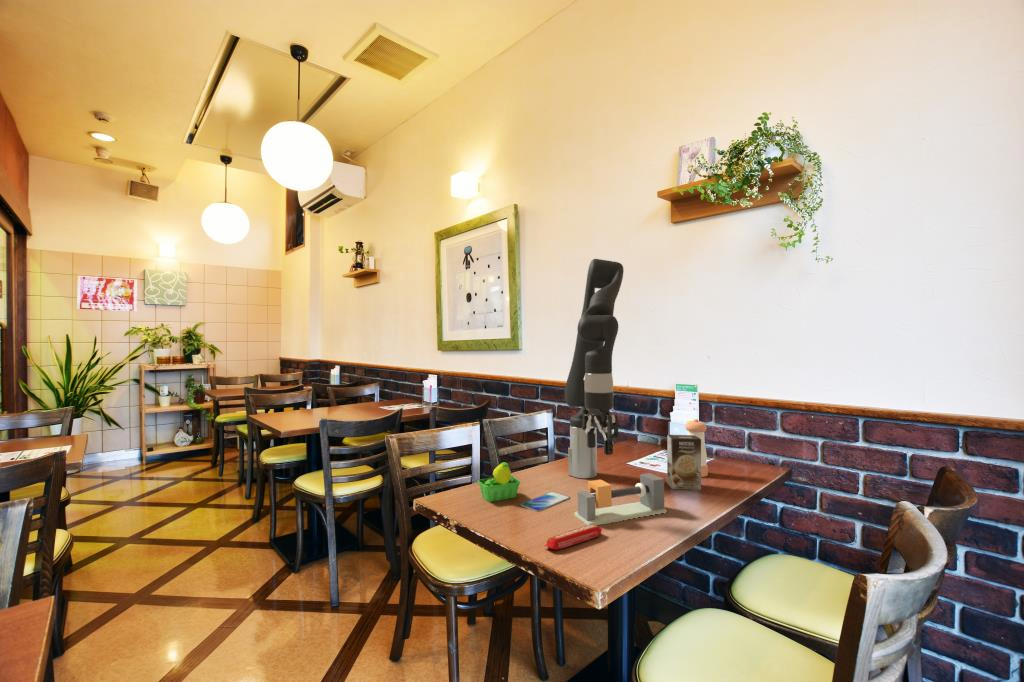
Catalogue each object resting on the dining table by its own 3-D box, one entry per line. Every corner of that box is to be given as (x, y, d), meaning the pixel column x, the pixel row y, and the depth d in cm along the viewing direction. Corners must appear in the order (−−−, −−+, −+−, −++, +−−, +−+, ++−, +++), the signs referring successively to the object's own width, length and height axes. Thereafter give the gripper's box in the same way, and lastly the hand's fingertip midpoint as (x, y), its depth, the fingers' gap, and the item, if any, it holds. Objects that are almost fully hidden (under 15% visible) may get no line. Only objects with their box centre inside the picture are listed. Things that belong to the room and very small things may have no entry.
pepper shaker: (683, 470, 163) (682, 417, 163) (704, 471, 162) (703, 417, 162) (688, 476, 156) (687, 421, 156) (710, 477, 155) (709, 421, 155)
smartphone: (571, 497, 136) (538, 510, 126) (571, 500, 136) (538, 514, 126) (552, 491, 142) (519, 503, 131) (552, 493, 142) (519, 506, 131)
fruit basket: (510, 490, 144) (510, 455, 144) (523, 499, 136) (522, 461, 136) (477, 496, 139) (476, 459, 139) (488, 505, 131) (487, 466, 131)
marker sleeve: (598, 508, 118) (598, 487, 118) (588, 501, 123) (587, 481, 123) (611, 506, 120) (611, 485, 120) (601, 500, 124) (600, 479, 124)
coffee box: (671, 489, 143) (671, 438, 143) (666, 483, 150) (666, 434, 150) (702, 490, 142) (701, 438, 142) (695, 483, 149) (695, 434, 149)
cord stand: (589, 526, 116) (588, 491, 116) (574, 515, 123) (573, 482, 123) (666, 513, 124) (666, 480, 124) (648, 503, 131) (647, 472, 131)
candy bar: (594, 532, 113) (594, 520, 113) (604, 537, 110) (604, 525, 110) (542, 549, 104) (542, 536, 104) (552, 555, 101) (552, 541, 101)
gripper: (626, 391, 116) (627, 455, 116) (597, 386, 129) (597, 444, 129) (600, 393, 113) (601, 458, 113) (573, 388, 127) (574, 446, 127)
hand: (599, 450), depth 121 cm, fingers open, 8 cm apart
